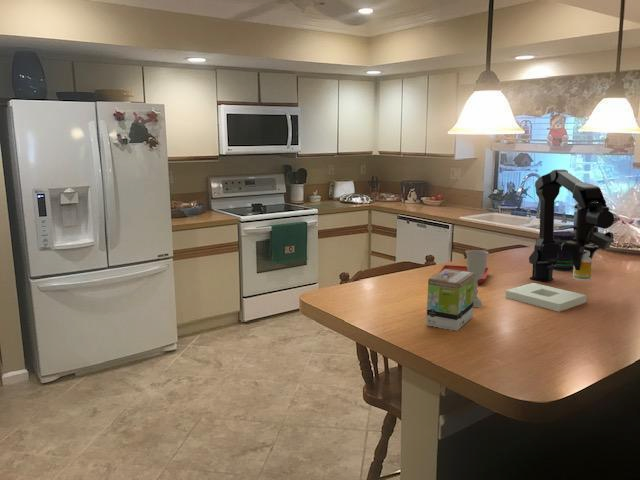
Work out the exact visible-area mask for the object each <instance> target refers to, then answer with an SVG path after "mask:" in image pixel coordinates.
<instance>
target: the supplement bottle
mask: <svg viewBox="0 0 640 480" xmlns="http://www.w3.org/2000/svg"><path fill="white" fill-rule="evenodd" d="M584 251H586V252H587V253H586V254H584V255H583V257H582V262H581V267H580V270H576V269H575V267H574V269H573V270H572V278H573V279H574V280H576V281H583V282H584V281H590V280H591V273H592V263H593V262H592V261H593V258H592V259H591V258H590V257H589V256H590V251H587V250H584Z"/></svg>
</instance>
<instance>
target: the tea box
mask: <svg viewBox="0 0 640 480" xmlns="http://www.w3.org/2000/svg"><path fill="white" fill-rule="evenodd" d="M427 283H428V284H427V298H426V299H427V301H426V302H427V303H426V321H425V325H426V326H429V327H432V326H433V327H432V328H436V327H438V329H442V328H443V330H447V329H449V331H453V330H455V331H454V332H458V331H459V329H461V328H462V327H463V326H465V324H466V323H468V321H470V320H471V319H472V318H473V315H474V307H473V301H474V283H475V273H473V272H466V271H458V270H450V269H444V270H443V271H441V272H439V271H438V272H437V273H436V274H434V275H432V276H431V277H429V278H428V281H427Z"/></svg>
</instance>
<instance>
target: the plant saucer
mask: <svg viewBox="0 0 640 480" xmlns="http://www.w3.org/2000/svg"><path fill="white" fill-rule="evenodd" d="M489 268H490V267H487V266H486V269H485V271H484V273H483V275H482V277H481V279H479V280H478V281H477V284H478V285H481V284H482V283H483V282H484V281H485V280H486V277H487V275H488V272H489ZM444 269H450V270H458V271H466V272H468V269H467V265H451V264H444V265H442V267H441V269H440V270H439V271H438V273H439V272H441V271H443V270H444Z"/></svg>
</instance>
